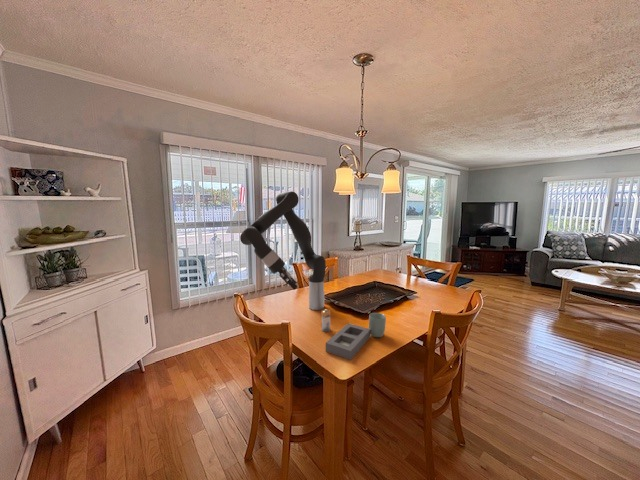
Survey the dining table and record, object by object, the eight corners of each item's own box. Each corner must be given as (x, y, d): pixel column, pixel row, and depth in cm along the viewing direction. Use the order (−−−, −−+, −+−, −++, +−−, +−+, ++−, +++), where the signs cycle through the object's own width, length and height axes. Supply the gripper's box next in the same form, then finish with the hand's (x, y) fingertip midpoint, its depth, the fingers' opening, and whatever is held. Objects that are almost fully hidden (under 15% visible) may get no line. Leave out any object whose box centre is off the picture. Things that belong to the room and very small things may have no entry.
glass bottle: (324, 327, 135) (324, 307, 133) (331, 329, 132) (331, 309, 131) (320, 330, 131) (319, 310, 129) (327, 332, 129) (327, 312, 127)
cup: (366, 331, 129) (367, 312, 128) (381, 331, 130) (382, 312, 129) (370, 339, 121) (371, 319, 120) (386, 339, 122) (388, 319, 121)
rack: (325, 351, 112) (325, 342, 111) (347, 330, 130) (348, 323, 130) (350, 360, 106) (350, 351, 105) (370, 337, 124) (370, 329, 124)
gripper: (279, 258, 117) (302, 284, 119) (279, 254, 131) (300, 277, 133) (266, 269, 116) (290, 295, 119) (267, 264, 130) (289, 287, 133)
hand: (295, 286), depth 126 cm, fingers open, 8 cm apart
